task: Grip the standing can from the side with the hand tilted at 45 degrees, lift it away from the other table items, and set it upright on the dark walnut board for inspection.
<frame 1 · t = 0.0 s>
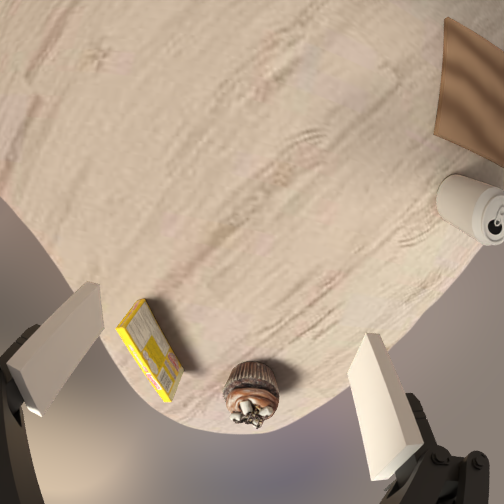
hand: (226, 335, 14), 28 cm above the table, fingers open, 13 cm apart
can: (452, 197, 37), on the table
cupcake: (252, 376, 51), on the table
candy box: (161, 337, 50), on the table
walnut board: (489, 98, 30), on the table
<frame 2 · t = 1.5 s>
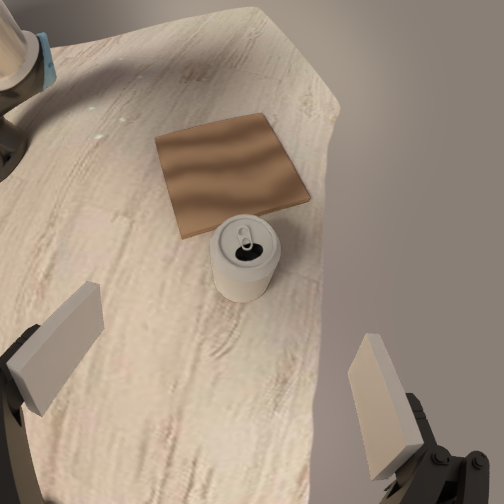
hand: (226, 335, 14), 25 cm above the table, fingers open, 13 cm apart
can: (241, 277, 41), on the table
walnut board: (226, 167, 48), on the table
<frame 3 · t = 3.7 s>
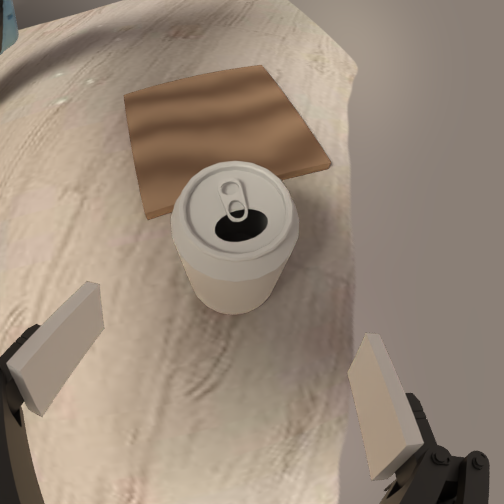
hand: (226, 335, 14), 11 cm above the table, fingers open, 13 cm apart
can: (232, 275, 27), on the table
walnut board: (214, 126, 34), on the table
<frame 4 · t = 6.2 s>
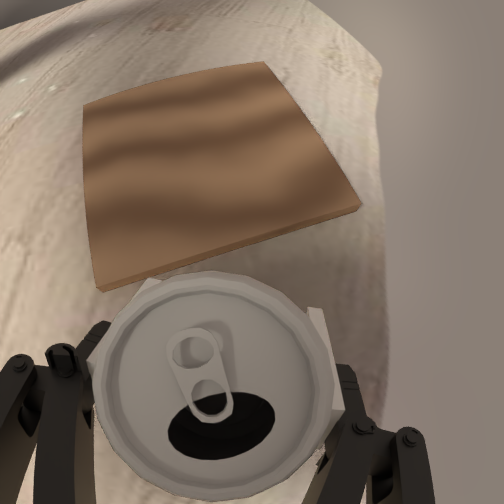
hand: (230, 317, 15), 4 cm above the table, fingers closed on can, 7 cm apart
can: (221, 380, 18), on the table, touching gripper
walnut board: (198, 146, 24), on the table
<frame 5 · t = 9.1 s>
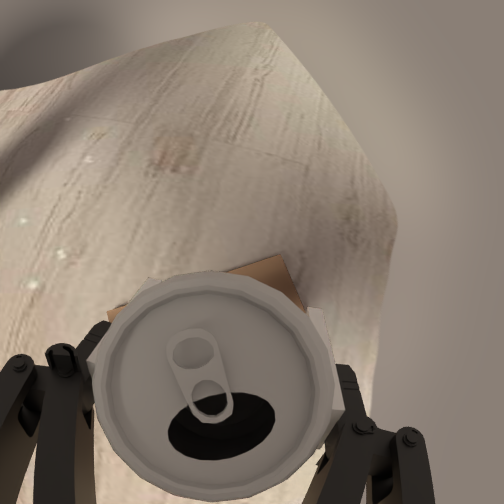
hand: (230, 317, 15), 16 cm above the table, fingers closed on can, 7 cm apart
can: (221, 380, 18), point 12 cm above the table, touching gripper
walnut board: (225, 374, 29), on the table
when the fingers open (7 cm above the table, at t = 12.3 s): can drops 1 cm, resting on walnut board.
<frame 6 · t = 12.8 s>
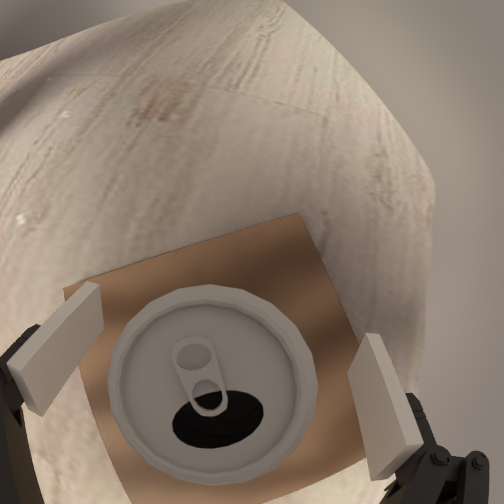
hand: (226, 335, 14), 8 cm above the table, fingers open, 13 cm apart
can: (221, 380, 19), point 1 cm above the table, touching walnut board
walnut board: (222, 379, 20), on the table
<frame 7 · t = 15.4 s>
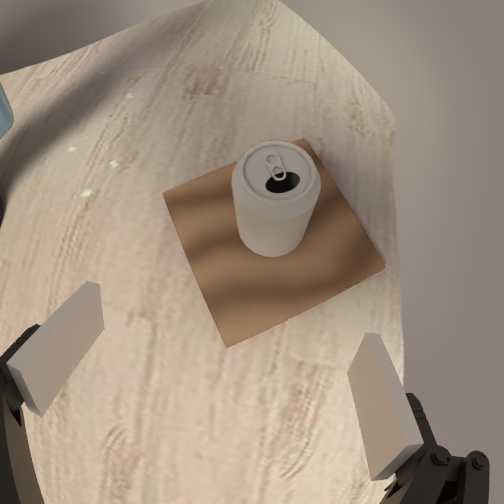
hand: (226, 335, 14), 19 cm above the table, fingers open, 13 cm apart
can: (271, 228, 35), point 1 cm above the table, touching walnut board
walnut board: (270, 231, 36), on the table
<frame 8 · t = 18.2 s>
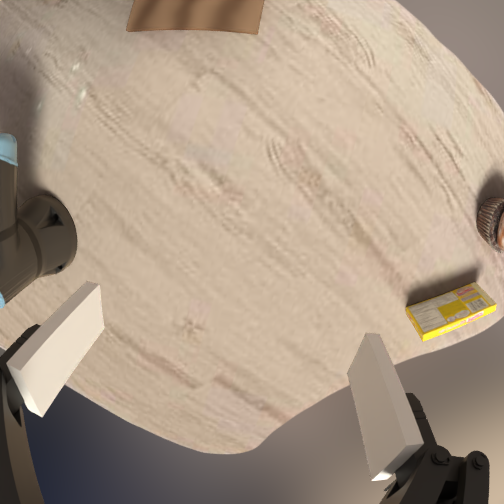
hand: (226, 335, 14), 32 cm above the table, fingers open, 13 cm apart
cupcake: (490, 218, 41), on the table
candy box: (442, 297, 48), on the table
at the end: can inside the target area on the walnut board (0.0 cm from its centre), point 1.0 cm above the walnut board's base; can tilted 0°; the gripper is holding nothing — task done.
